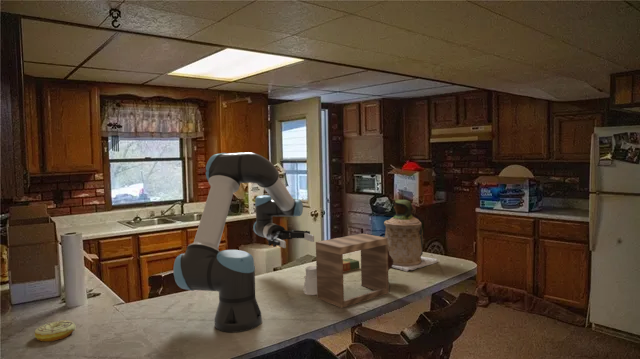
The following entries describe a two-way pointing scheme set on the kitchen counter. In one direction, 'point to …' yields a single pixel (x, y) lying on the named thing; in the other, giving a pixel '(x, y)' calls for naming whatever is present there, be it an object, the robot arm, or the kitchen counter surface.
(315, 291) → the downlight
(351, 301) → the counter shelf
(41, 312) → the kitchen counter surface
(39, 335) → the decorated donut
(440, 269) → the kitchen counter surface
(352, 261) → the carton
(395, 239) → the cookie jar
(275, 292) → the kitchen counter surface
